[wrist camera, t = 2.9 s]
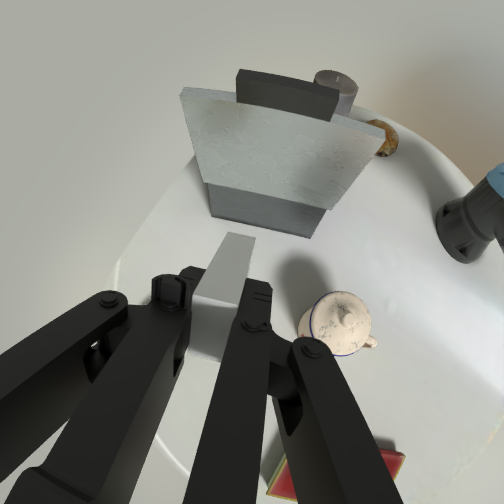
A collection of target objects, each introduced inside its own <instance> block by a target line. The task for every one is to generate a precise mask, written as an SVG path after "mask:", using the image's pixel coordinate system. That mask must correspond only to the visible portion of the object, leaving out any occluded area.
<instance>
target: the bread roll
mask: <svg viewBox="0 0 504 504" xmlns="http://www.w3.org/2000/svg"><path fill="white" fill-rule="evenodd" d="M366 123H367V124H369V125H372V126H375V127H378V128H381V129H384V130H385V138H386V140H385V142H384V143H383V144H382V146H381V147H380V148H379V150H378V151H377V152H376V153H375V155H377V156H380V157H386V156H388V155H391V154H392V153H394V152H395V150H396V148H397V146H398V135H397V133H396V131H395V130H394V129H393V128H392V127H391V126H390V125H389V124H387V123H385V122H383V121H380V120H370V121H368V122H366Z"/></svg>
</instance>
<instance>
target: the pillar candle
mask: <svg viewBox="0 0 504 504" xmlns="http://www.w3.org/2000/svg"><path fill="white" fill-rule="evenodd" d="M313 83H316V84H320V85H324V86H327V87H331V88H334V89H338V90H340V96H339V102H338V104H337V106H336V109H335V111H334V114H338V115H341V116H344V117H347V116H348V113H349V111H350V109H351V106H352V104H353V101H354V99H355V97H356V94H357V92H358V86H357V84H356V83H355V82H354V81H353V80H352V79H351V78H349V77H348V76H347V75H344V74H342V73H339V72H336V71H332V70H322V71H319V72H317V74H316V75H315V78H314V82H313Z"/></svg>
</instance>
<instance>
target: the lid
mask: <svg viewBox="0 0 504 504" xmlns="http://www.w3.org/2000/svg"><path fill="white" fill-rule="evenodd" d="M339 96H340V90H338V89H334V88H331V87H327V86H324V85H320V84H316V83H312V82H308V81H303V80H299V79H295V78H289V77H285V76H280V75H275V74H269V73H264V72H257V71H251V70H244V69H240V70H239V72H238V74H237V77H236V93H235V92H228V91H220V90H211V89H202V88H191V87H190V88H189V87H184V88H183V90H182V92H181V94H180V100H181V104H182V108H183V111H184V115H185V119H186V123H187V126H188V129H189V133H190V137H191V140H192V144H193V148H194V151H195V155H196V159H197V162H198V166H199V169H200V173H201V176H202V179H203V182H204V183H210V184H215V185H220V186H225V187H230V188H235V189H240V190H245V191H250V192H255V193H259V194H264V195H268V196H273V197H277V198H282V199H286V200H290V201H295V202H299V203H303V204H307V205H311V206H315V207H319V208H323V209H327V210H332V209H333V207H334V206H335V205H336V204H337V202H338V201H339V200H340V199H341V197H342V196H343V195H344V194H345V192H346V191H347V190H348V188H349V187H350V186H351V185H352V183H353V182H354V181H355V179H356V178H357V177H358V176H359V174H360V173H361V172H362V170H363V169H364V168H365V167H366V165H367V164H368V163H369V161H370V160H371V159H372V157H373V156H374V155H375V153H376V152H377V151H378V150H379V148H380V147H381V146H382V144H383V143H384V142H385V140H386V138H385V130H384V129H381V128H378V127H375V126H372V125H369V124H367V123H363V122H360V121H357V120H354V119H351V118H348V117H344V116H341V115H338V114H334V111H335V109H336V106H337V104H338V102H339Z"/></svg>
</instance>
